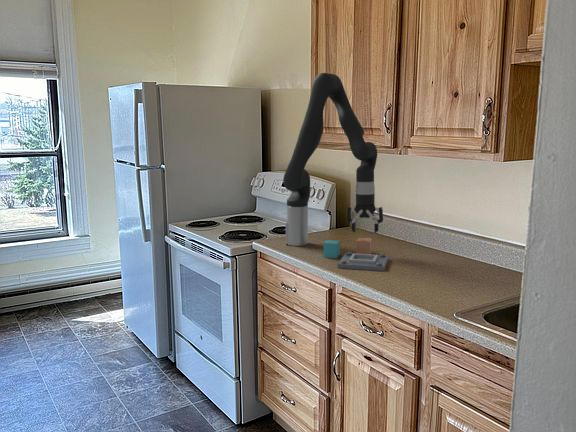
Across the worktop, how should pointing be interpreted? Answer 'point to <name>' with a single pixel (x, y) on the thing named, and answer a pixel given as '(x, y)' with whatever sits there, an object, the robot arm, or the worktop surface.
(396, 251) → the worktop surface
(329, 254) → the teal block
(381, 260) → the plate
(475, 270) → the worktop surface
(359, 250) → the terracotta block
